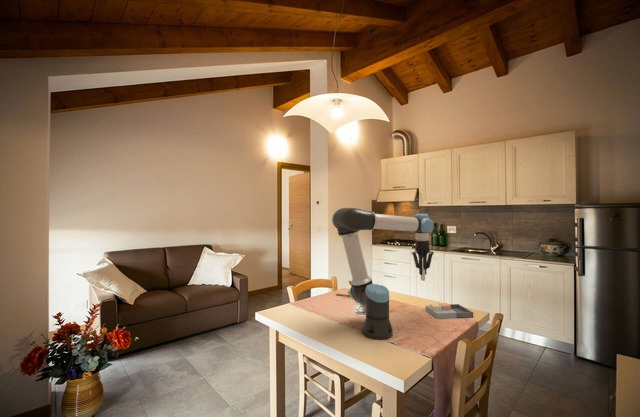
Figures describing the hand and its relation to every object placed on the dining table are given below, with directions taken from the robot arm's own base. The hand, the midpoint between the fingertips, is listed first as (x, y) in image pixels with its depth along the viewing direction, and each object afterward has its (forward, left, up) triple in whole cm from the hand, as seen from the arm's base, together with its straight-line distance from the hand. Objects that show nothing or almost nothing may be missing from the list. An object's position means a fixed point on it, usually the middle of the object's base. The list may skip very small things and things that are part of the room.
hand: (423, 280), depth 177 cm
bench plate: (0, -11, -20) cm, 23 cm away
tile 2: (0, -13, -17) cm, 22 cm away
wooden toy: (+42, +35, -21) cm, 58 cm away
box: (0, -21, -20) cm, 30 cm away
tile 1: (0, -8, -17) cm, 19 cm away
